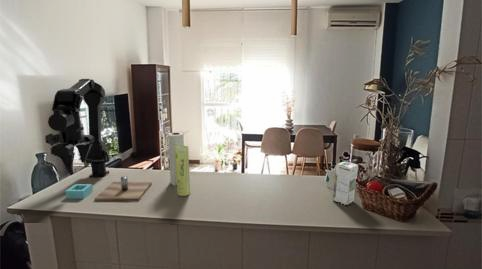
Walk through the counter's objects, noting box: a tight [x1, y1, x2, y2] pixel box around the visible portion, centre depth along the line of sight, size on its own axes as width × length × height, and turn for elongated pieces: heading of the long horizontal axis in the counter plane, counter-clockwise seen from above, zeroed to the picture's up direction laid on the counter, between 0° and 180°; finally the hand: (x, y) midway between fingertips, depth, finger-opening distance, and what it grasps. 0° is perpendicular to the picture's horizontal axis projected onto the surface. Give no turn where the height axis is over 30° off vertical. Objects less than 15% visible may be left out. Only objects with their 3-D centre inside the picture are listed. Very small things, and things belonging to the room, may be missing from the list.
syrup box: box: [332, 161, 359, 204], centre depth 107 cm, size 6×6×14 cm
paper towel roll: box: [168, 131, 185, 187], centre depth 123 cm, size 7×6×21 cm
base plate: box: [94, 181, 153, 202], centre depth 115 cm, size 16×16×1 cm
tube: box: [175, 144, 191, 197], centre depth 112 cm, size 6×5×20 cm
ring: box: [65, 183, 94, 200], centre depth 112 cm, size 7×7×3 cm
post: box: [120, 176, 129, 191], centre depth 114 cm, size 2×2×5 cm
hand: (76, 166), depth 110 cm, fingers open, 9 cm apart
